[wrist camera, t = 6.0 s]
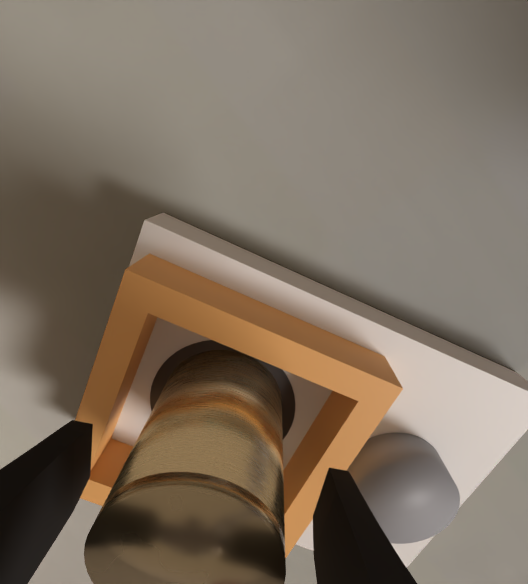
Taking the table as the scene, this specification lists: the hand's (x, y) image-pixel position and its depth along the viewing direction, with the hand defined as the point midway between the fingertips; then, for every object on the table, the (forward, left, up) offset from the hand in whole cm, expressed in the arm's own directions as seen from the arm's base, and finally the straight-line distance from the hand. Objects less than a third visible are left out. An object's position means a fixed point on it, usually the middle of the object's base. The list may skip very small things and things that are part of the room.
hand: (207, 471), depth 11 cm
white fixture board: (-3, 0, -5) cm, 6 cm away
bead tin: (0, 0, -3) cm, 3 cm away
